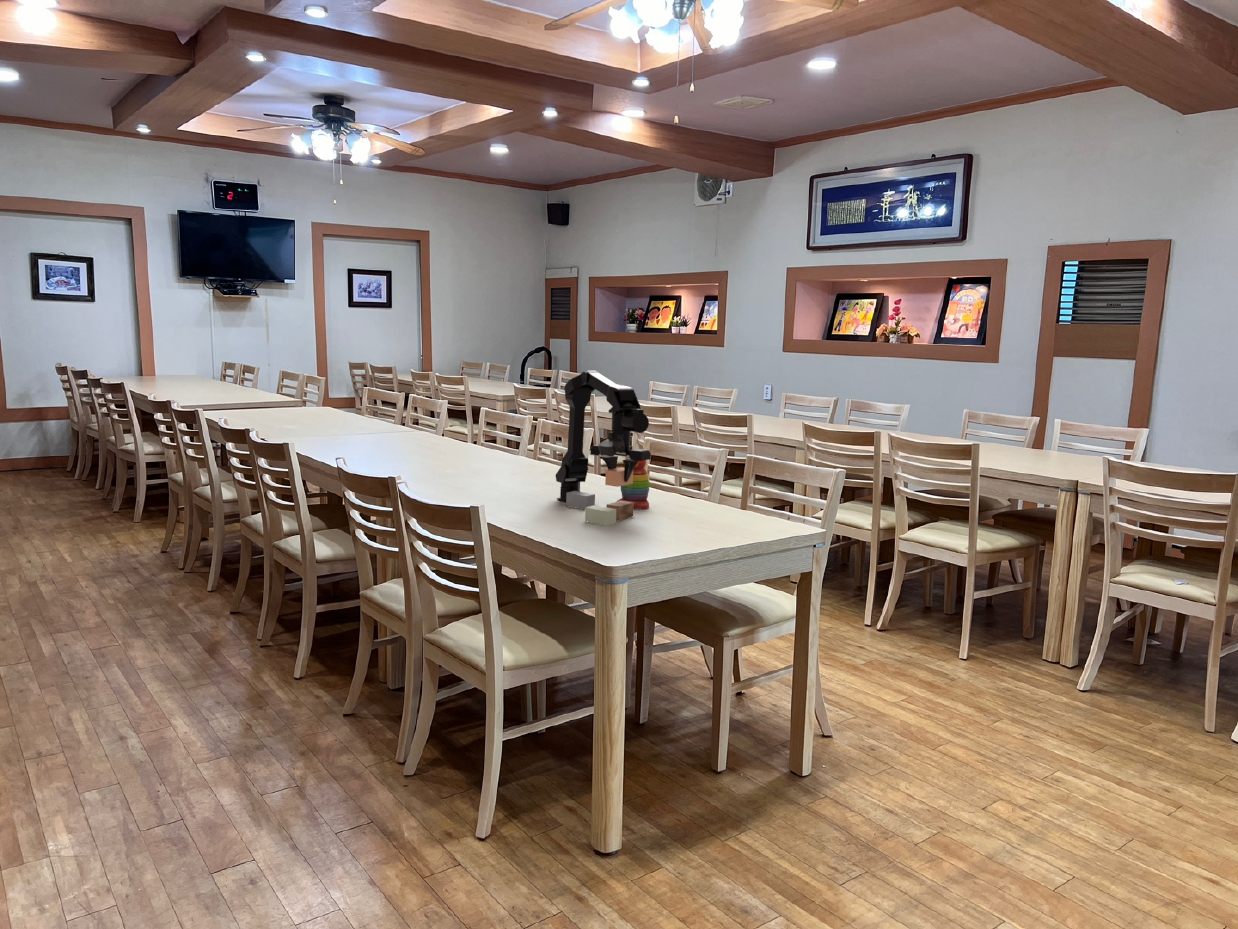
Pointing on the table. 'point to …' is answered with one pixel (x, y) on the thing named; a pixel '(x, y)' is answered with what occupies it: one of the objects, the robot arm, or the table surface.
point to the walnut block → (622, 509)
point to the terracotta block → (617, 477)
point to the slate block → (580, 499)
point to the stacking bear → (637, 487)
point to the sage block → (600, 515)
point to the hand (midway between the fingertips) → (619, 480)
